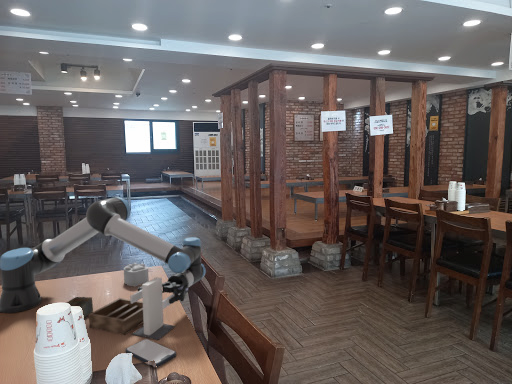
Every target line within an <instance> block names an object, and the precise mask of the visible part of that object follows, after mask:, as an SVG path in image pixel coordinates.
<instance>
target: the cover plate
mask: <svg viewBox="0 0 512 384" xmlns="http://www.w3.org/2000/svg"><path fill="white" fill-rule="evenodd" d="M162 283H163V279H162V277H158V276H157V277H154V278H152V279H149V281H148V282H146V283H144V284H142V285H141V287H142V295H143V298H142V302H143V320H144V322H143V326H144V334H145V335H151V334H152V333H154V332H155V331H156V330H158V329H159V328H160V327H162V326H163V324H164V309H162V300H163V293H162V291H163V288H162Z"/></svg>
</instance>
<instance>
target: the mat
mask: <svg viewBox="0 0 512 384" xmlns="http://www.w3.org/2000/svg"><path fill="white" fill-rule="evenodd" d="M175 326H176V325H173V324H167V323H163V326H162V327H160V328H159V329H158V330H156V331H155V332H154V333H152V334H151V335H145V334H144V325H142V326H141V327H139V328H138V329H136V330H135V331H134V332H132V333H131V334H132V336H138V337H142V338H145V339H150V340H157V341H159V340H160V339H162V338H163V337H164V336H165V335H167V334H169V332H170V331H171V330H173V329H174V328H175Z"/></svg>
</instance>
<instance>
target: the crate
mask: <svg viewBox="0 0 512 384" xmlns="http://www.w3.org/2000/svg"><path fill="white" fill-rule="evenodd" d="M88 322H89V323H88V327H89V328H90V329H95V330H100V331H104V332H110V333H114V334H120V335H124V336H125V335H126V334H128V333H129V332H131V331H132V330H134V329H135V328H137V327H138V326H139V325H141V324H144V320H143V301H141V300H138V301H136V302H134V303H133V304H132V303H131V301H130V299H129V298H123V297H119V298H117V299H115V300H113V301H111V302H109V303H107V304H105V305H104V306H102V307H100V308H97V309H96V310H93V312H91V313H90V314H88Z"/></svg>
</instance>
